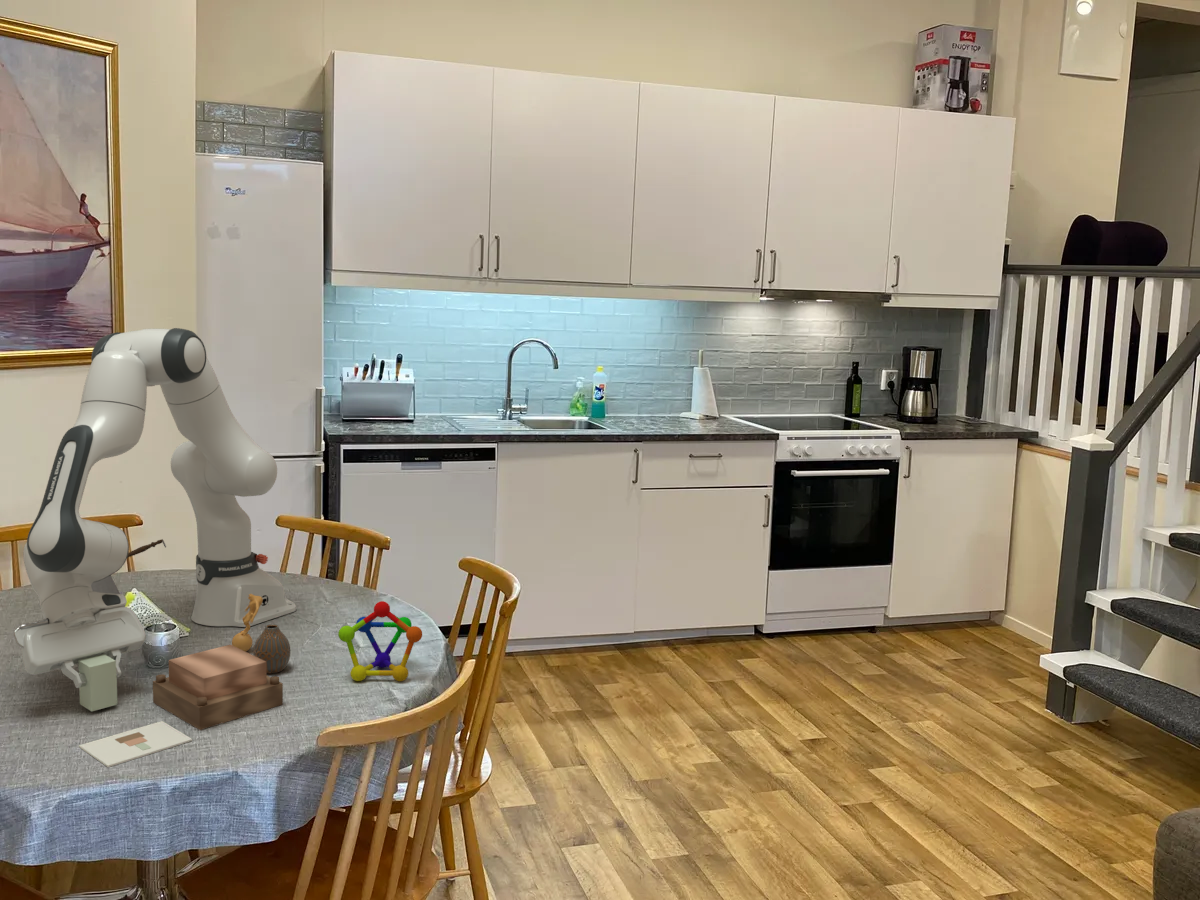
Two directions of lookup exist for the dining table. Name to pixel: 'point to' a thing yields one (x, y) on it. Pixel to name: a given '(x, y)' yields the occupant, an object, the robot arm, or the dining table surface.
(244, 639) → the figurine
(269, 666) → the vase
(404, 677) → the educational toy
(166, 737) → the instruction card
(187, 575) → the dining table surface
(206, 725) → the stacked wooden pedestal
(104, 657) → the upright grey-green brick
